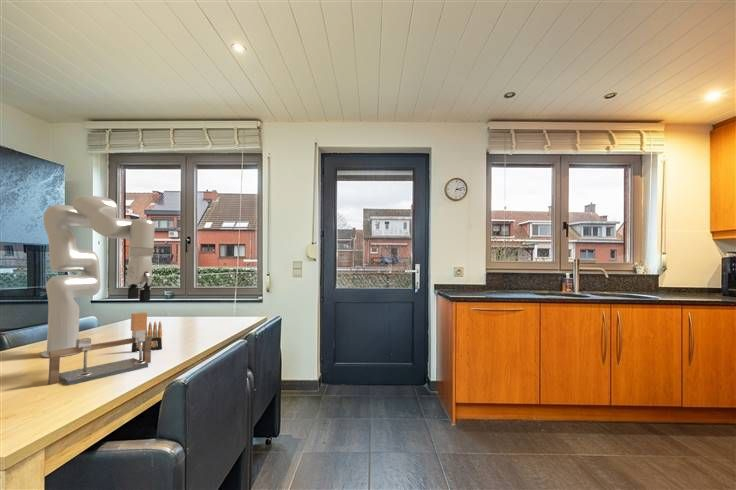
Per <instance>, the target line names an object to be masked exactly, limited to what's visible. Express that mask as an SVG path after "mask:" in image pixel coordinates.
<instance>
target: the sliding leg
mask: <svg viewBox="0 0 736 490" xmlns="http://www.w3.org/2000/svg"><path fill="white" fill-rule="evenodd" d="M145 330H147V331H148V313H147V312H144V311H143V312H135V313H134V312H133V313H131V314H130V331H131V338H135V343H137V342H140V350H139V352H138V353H139V354H138V355H139V356H138V357H139V359H138V360H139V361H143V351H142V342H143V341H145Z"/></svg>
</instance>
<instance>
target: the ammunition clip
mask: <svg viewBox="0 0 736 490" xmlns="http://www.w3.org/2000/svg"><path fill="white" fill-rule="evenodd" d="M157 325H158V326H157ZM152 327H153V328H152ZM157 327H158V328H157ZM162 327H163V326H162V321H161V320H159V322H158V324H157V322H156V321H154V322H153V325H152V321H149V323H148V326H147V330H145V336H148V335H151V336H152V340H151V350H152V351H159V350H162V349H163V329H162ZM139 350H140V342H137V343H131V353H138V352H137V351H139ZM142 352H143V342H142Z"/></svg>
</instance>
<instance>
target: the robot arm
mask: <svg viewBox="0 0 736 490" xmlns="http://www.w3.org/2000/svg"><path fill="white" fill-rule="evenodd" d="M118 208H119V207H118V205H117V203H116V201H115V200H113V199H111V198H108V197H104V196H103V197H102V196H98V195H91V194H90V195H89V194H82V195H79V196H76V197H75V198H74V199H73V201H72V205H67V204H54V205H51V206H49V207H47V208H46V209H45V211H44V214H43V220H42V221H43V222H42V223H43V226H44V230H45V232H46V235H47V239H48V251H49V264H50V268H51V269H52V270H53V271H55V272H58V273H59V272H61V273H70V272H73V273H77V272H80V274H62V275H61V274H60V275H56V276H55V275H54V276H52V277H51V278H50V279H48V280H47V282H46V285H45V288H46V289H45V290H46V295H47V303H48V305H47V306H48V309H47V310H48V312H47V332H46V333H47V334H46V337H47V338H46V350H44V351H43V352H41V353H40V356H41V357H42V358H50V357H49V351H55V350H61V349H67V348H74V347H76V339H79V334H80V306H79V304H78V303H77V302H76V300H74V299H77V298H86V297H87V298H88V297H93V296H96V295H97V294H98V293H99V292H100V290H101V271H100V270H101V269H100V261H99V260H100V259H99V256H98V254H97V253H96V252H95V251H93V250H91V249H83V248H82V249H81V248H80V249H79V248H78V246H77V238H76V236H75V234H74V233H73V231H71V229H70V228H68V227H72V228H73V227H74V228H82V229H83V228H85V229H86V228H87V229H92V230H93V231H94V232H95V233H97V234H98V235H100V236H103V237H106V238H108V239H109V238H110V239H122V240H123V239H124V240H129V243H128V244H129V245H128V257H129V258H128V261H127V262H128V263H127V269H126V279H125V280H126V283H127V284H128V285H127V287H128V289H127V299H128V300H130V299H133V300H134V299H138V298H139V302H149V301H150V300H151V290H152V285H153V284H152V282H153V263H152V261H153V259H152V258H154V249H155V248H154V247H155V246H154V244H155V229H156V228H155V227H156V226H155V225H156V224H155V221H153V220H150V219H144V218H135V219H131V218H122V217H117V216H118V215H117V213H118V211H119V209H118ZM138 286H140V289H139V287H138ZM80 353H81V352H79V353H73V354H67V355H61V356H60V358H62V357H68V356H71V355H72V356H73V355H76V354H80Z"/></svg>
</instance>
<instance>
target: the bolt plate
mask: <svg viewBox="0 0 736 490" xmlns="http://www.w3.org/2000/svg"><path fill="white" fill-rule="evenodd" d="M145 362H146V361H143V360H141V361H139V359H137V358H135V357H132V358H127V359H123V360H118V361H113V362H109V363H103V364H98V365H93V366H87V371H86V372H83V367H82V368H77V369H72V370H69V371H62V372H59V381H61V382H63V383H64V384H66V385H67V386H71V385H76V384H80V383H85V382H89V381H93V380H98V379H102V378H106V377H110V376H115V375H119V374H120V375H121V374H123V373H124V374H125V373H129V372H133V371H137V370H142V369H145V368H149V363H145Z"/></svg>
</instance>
